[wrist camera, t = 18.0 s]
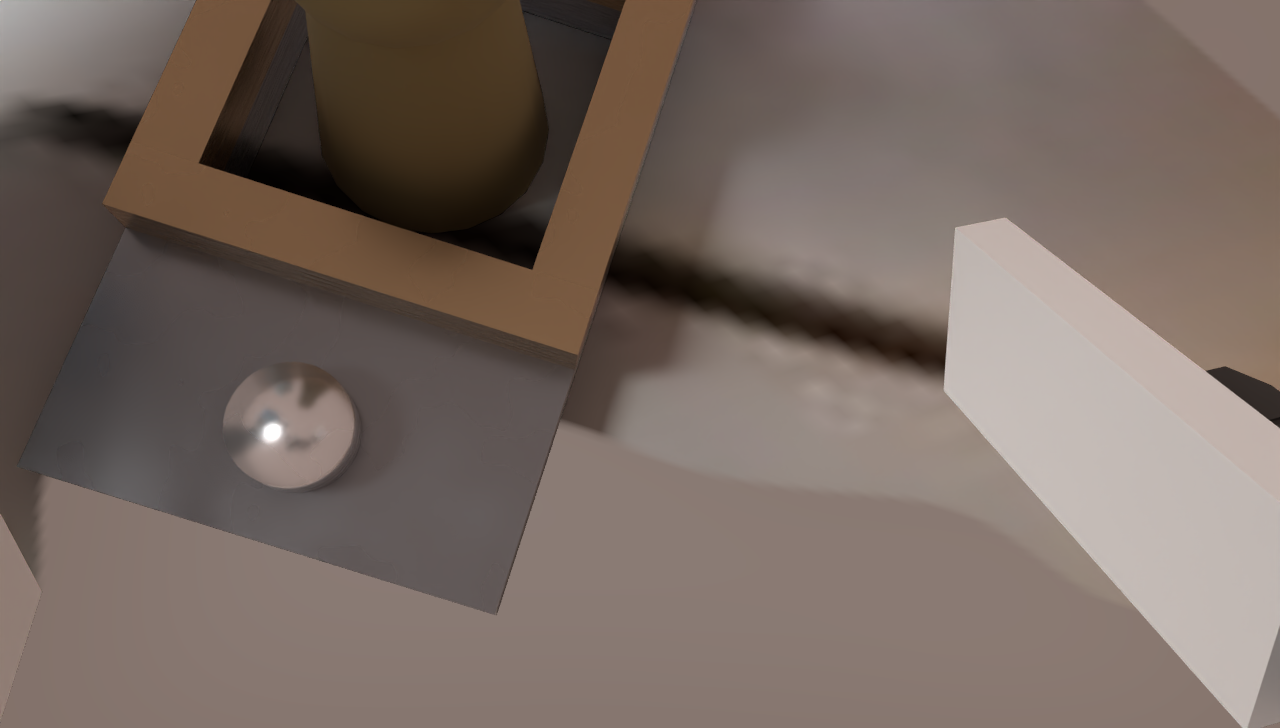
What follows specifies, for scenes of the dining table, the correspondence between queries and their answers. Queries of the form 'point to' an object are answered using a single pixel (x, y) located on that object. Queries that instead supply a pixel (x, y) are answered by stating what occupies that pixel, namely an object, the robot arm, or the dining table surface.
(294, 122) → the dining table surface
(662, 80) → the slotted wooden plate
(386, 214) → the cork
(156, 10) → the dining table surface
